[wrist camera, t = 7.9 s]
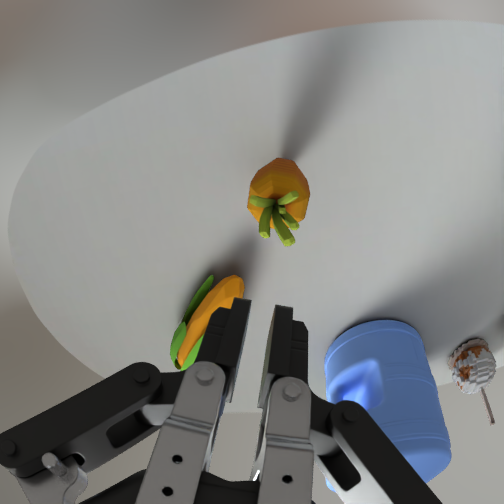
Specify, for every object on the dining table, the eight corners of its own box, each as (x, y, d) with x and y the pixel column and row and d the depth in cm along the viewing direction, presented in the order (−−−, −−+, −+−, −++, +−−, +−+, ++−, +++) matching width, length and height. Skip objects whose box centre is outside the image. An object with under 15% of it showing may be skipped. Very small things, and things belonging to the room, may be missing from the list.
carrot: (255, 149, 32) (224, 199, 20) (301, 139, 31) (305, 184, 18) (266, 192, 35) (245, 267, 22) (311, 184, 33) (318, 256, 21)
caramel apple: (453, 341, 42) (480, 417, 29) (491, 333, 40) (522, 403, 27) (443, 371, 46) (463, 442, 33) (479, 363, 44) (503, 429, 31)
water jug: (434, 316, 40) (489, 496, 16) (403, 383, 48) (423, 531, 24) (333, 314, 42) (339, 524, 18) (317, 382, 50) (310, 543, 26)
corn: (157, 378, 43) (196, 284, 32) (169, 341, 49) (210, 246, 39) (204, 395, 44) (262, 310, 34) (212, 357, 50) (265, 269, 40)
